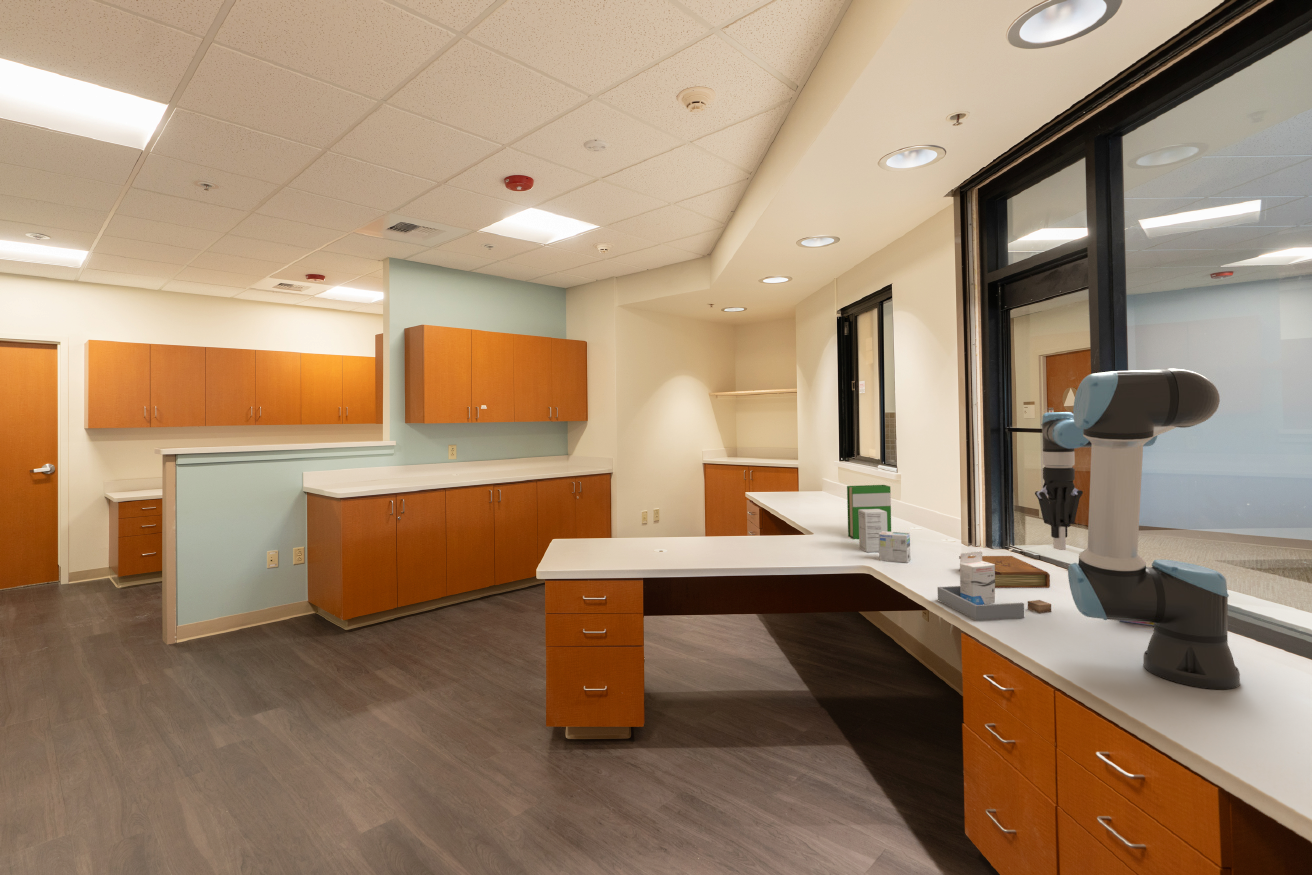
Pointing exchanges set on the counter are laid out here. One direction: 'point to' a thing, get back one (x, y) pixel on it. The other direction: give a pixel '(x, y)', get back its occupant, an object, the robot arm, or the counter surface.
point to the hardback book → (867, 504)
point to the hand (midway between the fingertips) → (1059, 548)
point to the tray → (979, 606)
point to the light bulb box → (894, 546)
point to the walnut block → (1039, 606)
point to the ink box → (977, 579)
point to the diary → (1016, 573)
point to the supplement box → (871, 528)
